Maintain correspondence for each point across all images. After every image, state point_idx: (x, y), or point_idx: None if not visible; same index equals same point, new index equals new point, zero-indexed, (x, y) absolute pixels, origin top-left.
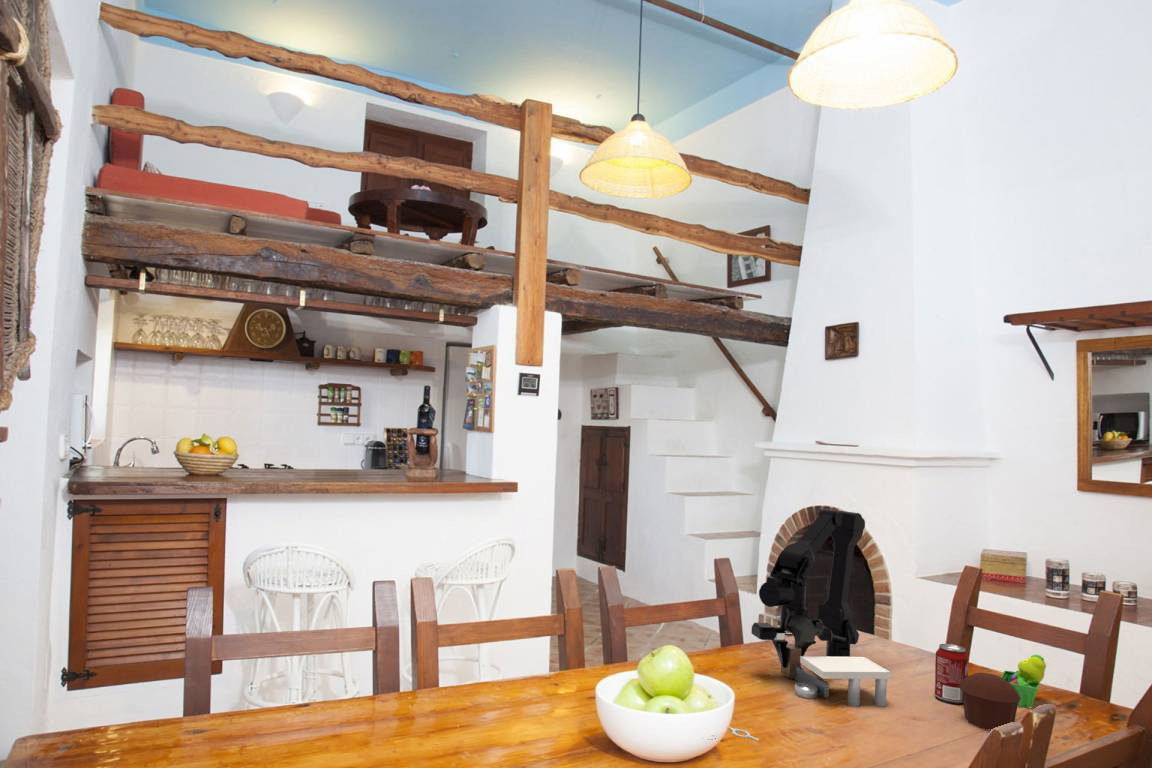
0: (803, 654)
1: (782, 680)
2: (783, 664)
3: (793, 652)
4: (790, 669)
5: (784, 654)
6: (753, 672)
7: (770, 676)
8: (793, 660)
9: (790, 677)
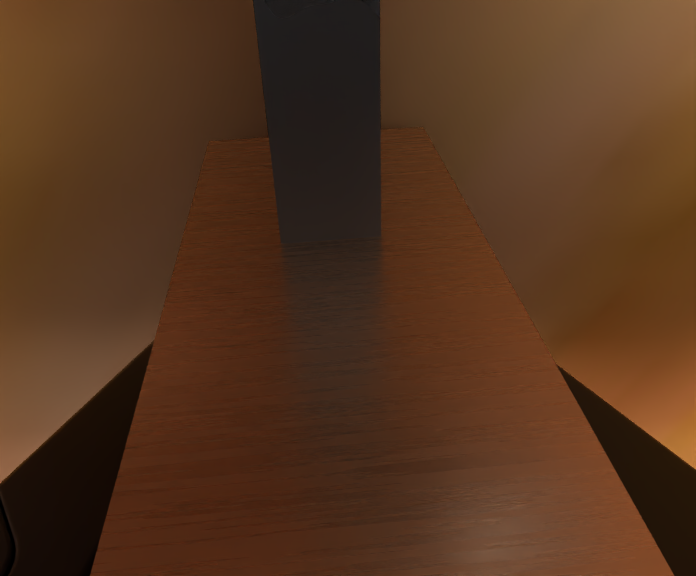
0: (2, 509)
1: (514, 141)
2: None
3: (475, 495)
4: (442, 192)
5: (641, 491)
6: (678, 408)
7: (574, 294)
8: (409, 304)
9: (408, 133)
